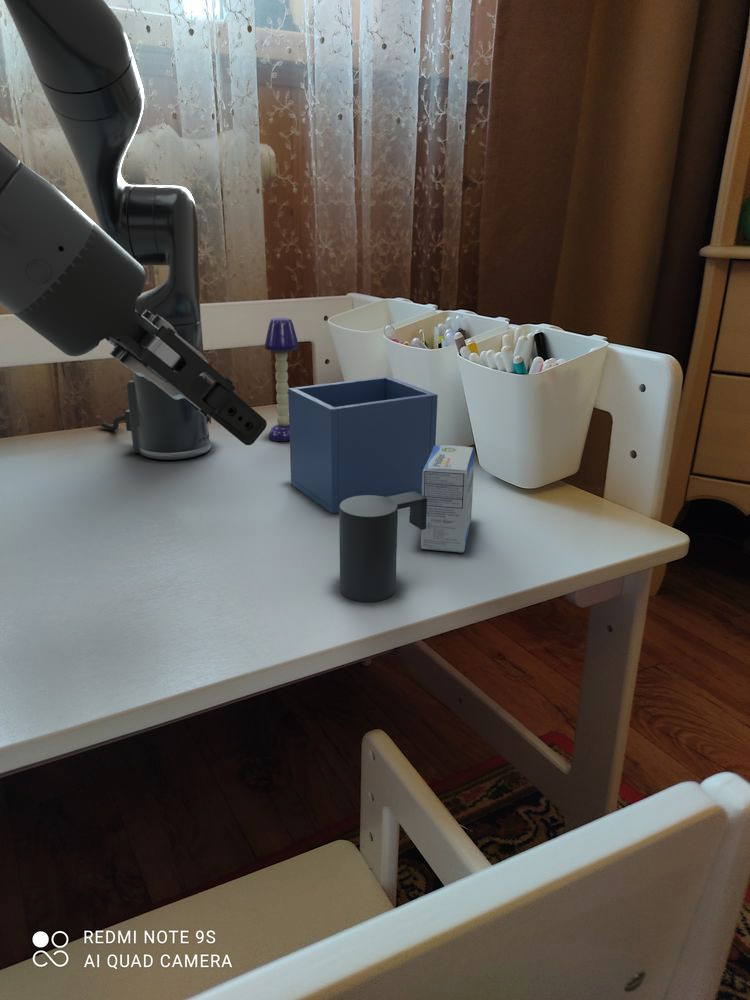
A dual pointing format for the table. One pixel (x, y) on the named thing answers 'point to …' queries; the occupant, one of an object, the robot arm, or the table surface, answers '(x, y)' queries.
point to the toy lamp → (281, 371)
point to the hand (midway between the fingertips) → (234, 419)
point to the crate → (360, 439)
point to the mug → (373, 542)
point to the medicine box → (448, 498)
